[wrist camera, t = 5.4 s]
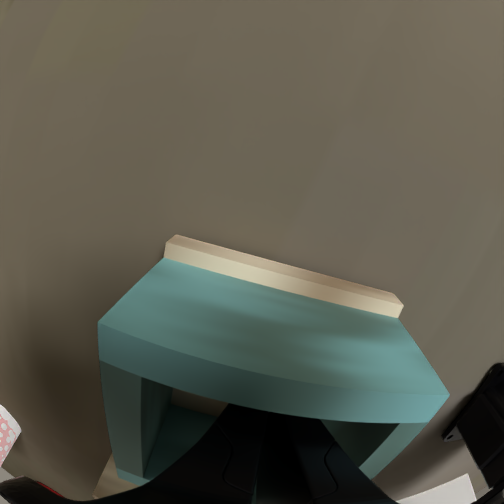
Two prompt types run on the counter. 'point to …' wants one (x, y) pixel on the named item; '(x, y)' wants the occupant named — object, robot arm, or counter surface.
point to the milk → (445, 493)
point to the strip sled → (254, 360)
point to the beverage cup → (7, 432)
